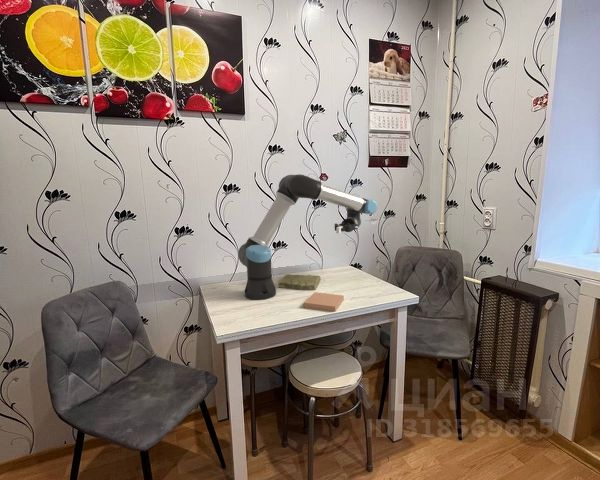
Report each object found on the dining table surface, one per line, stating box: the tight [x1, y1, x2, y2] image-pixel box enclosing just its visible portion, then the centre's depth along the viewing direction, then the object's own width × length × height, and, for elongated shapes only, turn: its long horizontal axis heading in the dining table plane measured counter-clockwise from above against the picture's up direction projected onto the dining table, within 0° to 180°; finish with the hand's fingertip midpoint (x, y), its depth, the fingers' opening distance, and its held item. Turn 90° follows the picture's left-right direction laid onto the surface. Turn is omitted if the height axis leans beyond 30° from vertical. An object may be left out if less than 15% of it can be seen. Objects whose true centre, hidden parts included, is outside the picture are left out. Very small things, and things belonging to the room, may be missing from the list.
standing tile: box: [303, 292, 345, 313], centre depth 144 cm, size 14×3×14 cm
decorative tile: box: [278, 273, 322, 291], centre depth 172 cm, size 19×20×4 cm
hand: (337, 230), depth 159 cm, fingers closed
